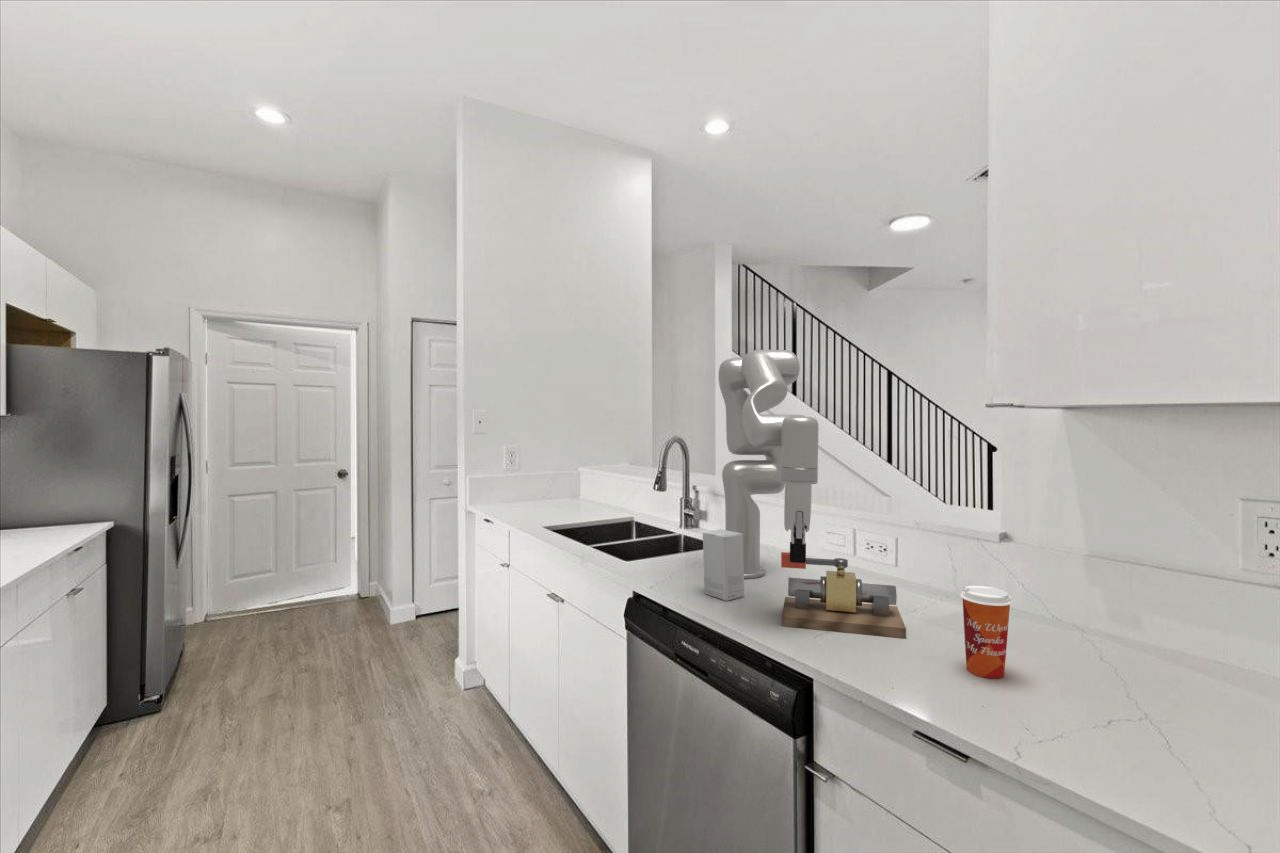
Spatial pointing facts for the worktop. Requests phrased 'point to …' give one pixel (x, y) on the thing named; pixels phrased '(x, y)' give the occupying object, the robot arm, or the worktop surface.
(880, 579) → the worktop surface
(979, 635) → the paper cup
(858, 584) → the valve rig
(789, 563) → the valve lever
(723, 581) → the skincare box
